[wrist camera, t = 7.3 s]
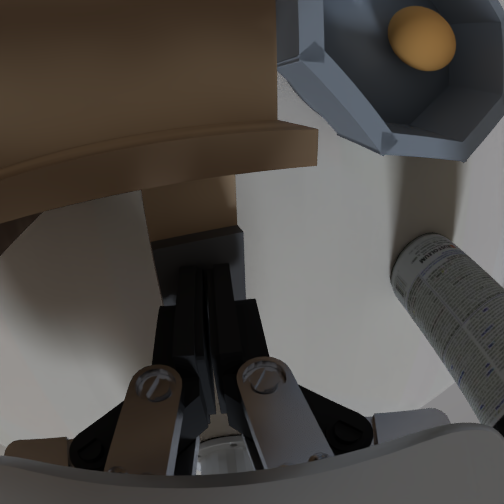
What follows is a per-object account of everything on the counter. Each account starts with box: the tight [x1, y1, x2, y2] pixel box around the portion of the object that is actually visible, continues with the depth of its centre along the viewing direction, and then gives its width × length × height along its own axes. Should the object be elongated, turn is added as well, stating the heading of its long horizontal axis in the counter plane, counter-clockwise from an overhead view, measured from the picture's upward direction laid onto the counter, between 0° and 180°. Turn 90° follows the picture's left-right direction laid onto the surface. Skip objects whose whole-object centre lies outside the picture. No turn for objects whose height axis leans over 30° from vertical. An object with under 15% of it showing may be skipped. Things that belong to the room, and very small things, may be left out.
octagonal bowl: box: [275, 0, 504, 163], centre depth 12 cm, size 13×13×6 cm
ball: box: [388, 6, 456, 71], centre depth 12 cm, size 4×4×4 cm
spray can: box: [391, 233, 504, 437], centre depth 15 cm, size 7×7×20 cm
